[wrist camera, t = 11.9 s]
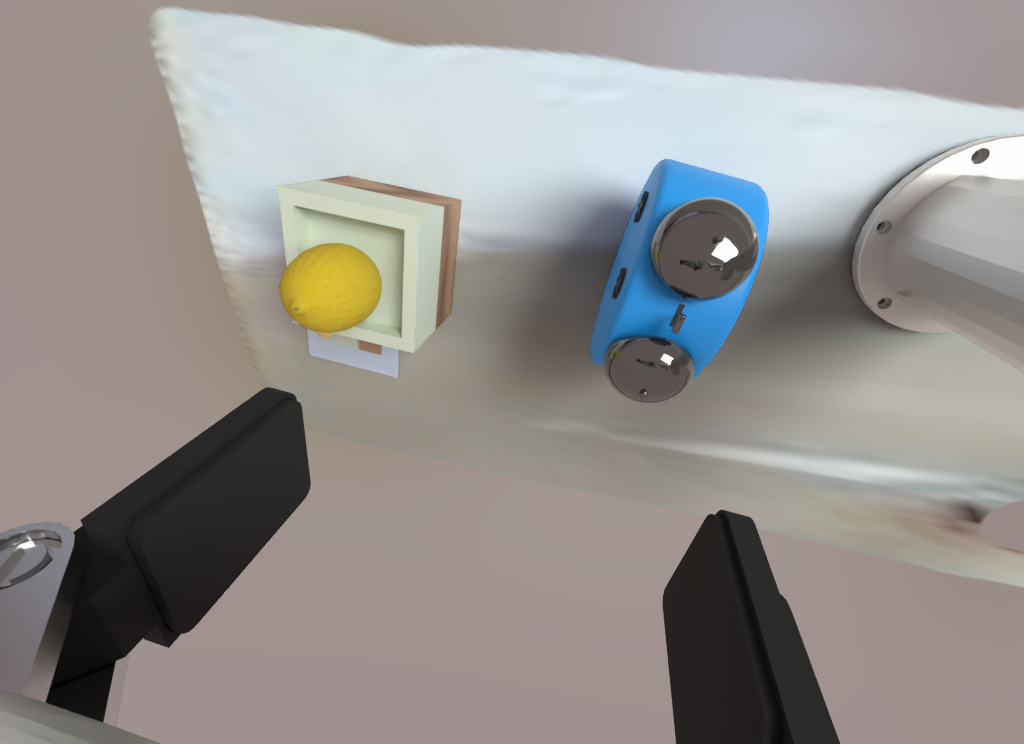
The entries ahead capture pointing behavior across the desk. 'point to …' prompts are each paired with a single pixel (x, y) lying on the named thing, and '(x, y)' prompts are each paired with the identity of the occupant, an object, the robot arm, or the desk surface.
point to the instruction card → (354, 352)
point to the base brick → (448, 233)
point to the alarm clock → (678, 279)
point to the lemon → (330, 287)
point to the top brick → (374, 252)
